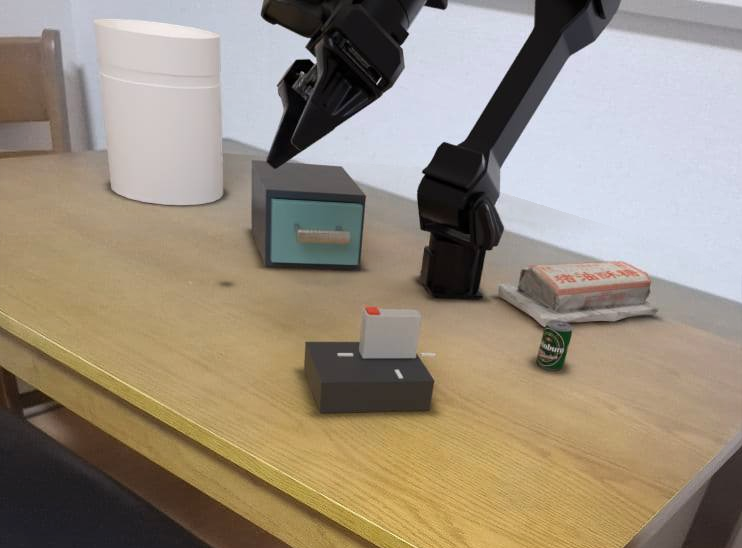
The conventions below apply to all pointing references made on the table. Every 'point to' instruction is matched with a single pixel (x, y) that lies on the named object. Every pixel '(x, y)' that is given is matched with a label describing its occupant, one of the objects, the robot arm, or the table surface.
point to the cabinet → (298, 185)
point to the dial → (389, 333)
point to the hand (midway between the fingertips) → (282, 156)
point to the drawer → (315, 231)
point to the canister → (161, 110)
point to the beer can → (554, 345)
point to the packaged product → (581, 292)
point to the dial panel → (365, 380)
